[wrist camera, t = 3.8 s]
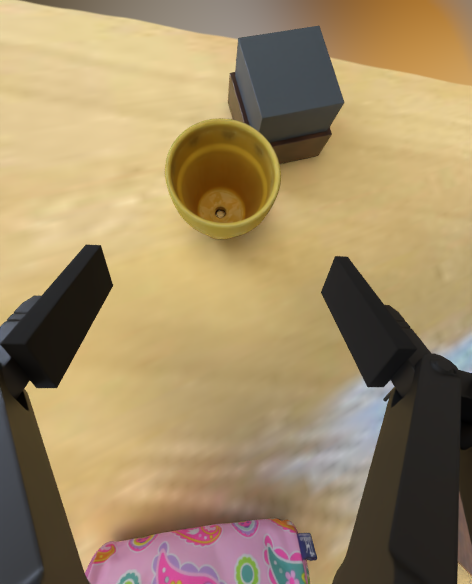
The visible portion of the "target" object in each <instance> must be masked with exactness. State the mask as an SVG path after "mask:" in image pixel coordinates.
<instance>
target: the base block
mask: <svg viewBox="0 0 472 584" xmlns="http://www.w3.org/2000/svg"><path fill="white" fill-rule="evenodd" d="M228 104H229V107H230V111H231V114H232V117H233V120H236V121H240V122H242V123H245V124H247V125H249V121H248V118H247V114H246V111H245V108H244V104H243V101H242V97H241V94H240V91H239V87H238V84H237V81H236V77H235V72H232V73H230V78H229V94H228ZM249 126H250V125H249ZM331 135H332V133H331V130H330V127H329V129H328V130H327V131H325V132H320V133H315V134H310V135H305V136H300V137H295V138H290V139H286V140H281V141H276V142H271V143H270V144H271V146H272V147H273V149H274V151H275V153H276V155H277V158H278V161H279V164H282V163H286V162H291V161H295V160H300V159H305V158H309V157H314V156H318V155H319V153H320V152H321V150H322V149H323V147H324V146H325V144H326V143H327V141H328V140H329V138H330V136H331Z"/></svg>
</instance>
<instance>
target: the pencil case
mask: <svg viewBox="0 0 472 584" xmlns="http://www.w3.org/2000/svg"><path fill="white" fill-rule="evenodd" d="M306 559H307V560H310V561H312V560H317V555H316V552H315V548H314V545H313V541H312V537H311V534H310V533H299V534H298V532H297V529H296V528H295V526H294V524H293V523H292V522H291V521H289V520H283V521H281V520H279V519H276V518H272V519H260V520H249V521H243V522H236V523H225V524H214V525H207V526H201V527H196V528H189V529H181V530H176V531H171V532H165V533H159V534H153V535H150V536H146V537H141V538H135V539H130V540H123V541H121V542H119V541H116V542H115V541H111V542H108V543H105V544H104V545H103V546H102V547H101V548H100V549H99V550H98V551H97V552H96V553H95V555H94V556H93V558H92V560H91V561H90V563H89V565H88V568H87V570H86V572H85V575H86V577H87V579H88V581H89V582H90V584H310V578H309V570H308V565H307V560H306Z"/></svg>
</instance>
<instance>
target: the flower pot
mask: <svg viewBox="0 0 472 584" xmlns="http://www.w3.org/2000/svg"><path fill="white" fill-rule="evenodd" d="M165 178H166V184H167V188H168V191H169V194H170V196H171V199H172V201H173V203H174V205H175V207H176V209H177V211H178V212H179V214H180V215H181V216H182V218H183V219H184V220H185V221H186V222H187V223H188V224H189V225H190V226H191V227H193V228H194V229H196V230H197V231H199V232H201V233H203V234H206V235H208V236H210V237H212V238H215V239H228V238H231V237H236V236H240V235H242V234H245V233H247V232H249V231H251V230H252V229H254V228H255V227H256V226H257V225H259V224H260V223H261V221H262V220H263V219H264V218H265V216H266V215H267V214H268V212H269V210H270V209H271V207H272V205H273V203H274V201H275V199H276V197H277V195H278V192H279V188H280V182H281V171H280V165H279V161H278V158H277V155H276V153H275V151H274V149H273V147H272V146H271V144H270V143H269V142H268V140H267V139H266V138H265V137H264V136H263V135H262V134H261V133H260V132H258V131H257V130H256V129H254V128H253V127H251V126H249V125H247V124H245V123H242V122H240V121H236V120H232V119H210V120H205V121H202V122H199V123H197V124H195V125H193V126H191V127H189V128H188V129H186V130H185V131H184V132H183V133H182V134H181V135H180V136H179V137H178V138H177V139H176V140H175V141H174V143H173V144H172V146H171V148H170V150H169V153H168V156H167V159H166V165H165ZM218 209H222V210H224V211H225V213H226V214H225V216H224V217H222V218H219V217H217V216H216V214H215V213H216V211H217V210H218Z"/></svg>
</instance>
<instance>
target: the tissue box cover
mask: <svg viewBox="0 0 472 584" xmlns="http://www.w3.org/2000/svg"><path fill="white" fill-rule="evenodd" d="M458 563H459V564H460V565H461V566H462V567H463V568H464V569H465V570H466V571H467V572H468V573H469V574H470V575H471V576H472V545H471V540H470V536H469V532H468V527H467V523H466V518H465V514H464V510H463V505H462V501H461V496H460V492H459V521H458Z"/></svg>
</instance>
